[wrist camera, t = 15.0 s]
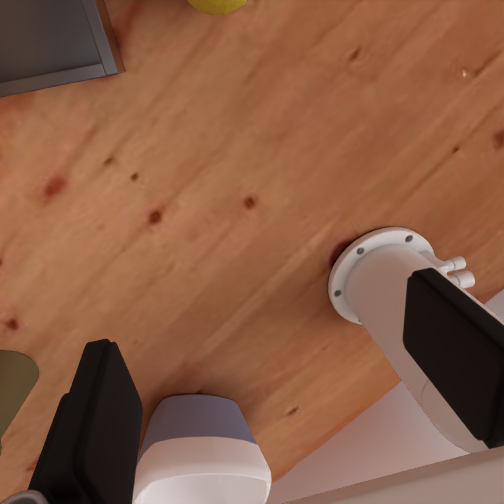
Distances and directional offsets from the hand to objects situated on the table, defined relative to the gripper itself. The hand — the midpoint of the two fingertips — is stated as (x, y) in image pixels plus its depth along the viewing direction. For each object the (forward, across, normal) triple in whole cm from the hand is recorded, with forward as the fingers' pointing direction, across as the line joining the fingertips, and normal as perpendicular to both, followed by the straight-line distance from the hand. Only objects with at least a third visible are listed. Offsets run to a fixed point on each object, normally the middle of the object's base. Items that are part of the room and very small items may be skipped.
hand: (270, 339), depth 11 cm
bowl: (+24, +9, +33) cm, 42 cm away
